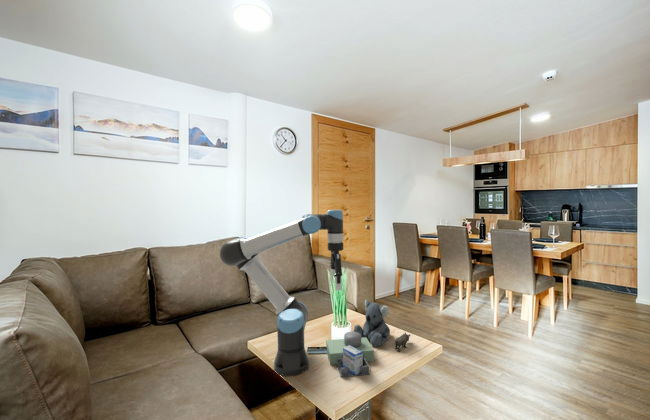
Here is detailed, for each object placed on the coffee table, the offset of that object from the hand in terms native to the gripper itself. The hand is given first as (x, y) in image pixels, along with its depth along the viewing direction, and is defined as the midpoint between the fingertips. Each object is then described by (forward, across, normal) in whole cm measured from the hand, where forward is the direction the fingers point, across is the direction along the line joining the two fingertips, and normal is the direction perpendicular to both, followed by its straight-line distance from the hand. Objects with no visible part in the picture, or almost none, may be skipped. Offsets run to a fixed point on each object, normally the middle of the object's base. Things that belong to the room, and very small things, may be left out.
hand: (336, 286), depth 142 cm
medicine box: (+32, -17, -4) cm, 36 cm away
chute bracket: (+32, -17, -4) cm, 36 cm away
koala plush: (+32, +11, -22) cm, 40 cm away
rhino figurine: (+32, 0, -33) cm, 46 cm away
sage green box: (+32, -5, -5) cm, 32 cm away
